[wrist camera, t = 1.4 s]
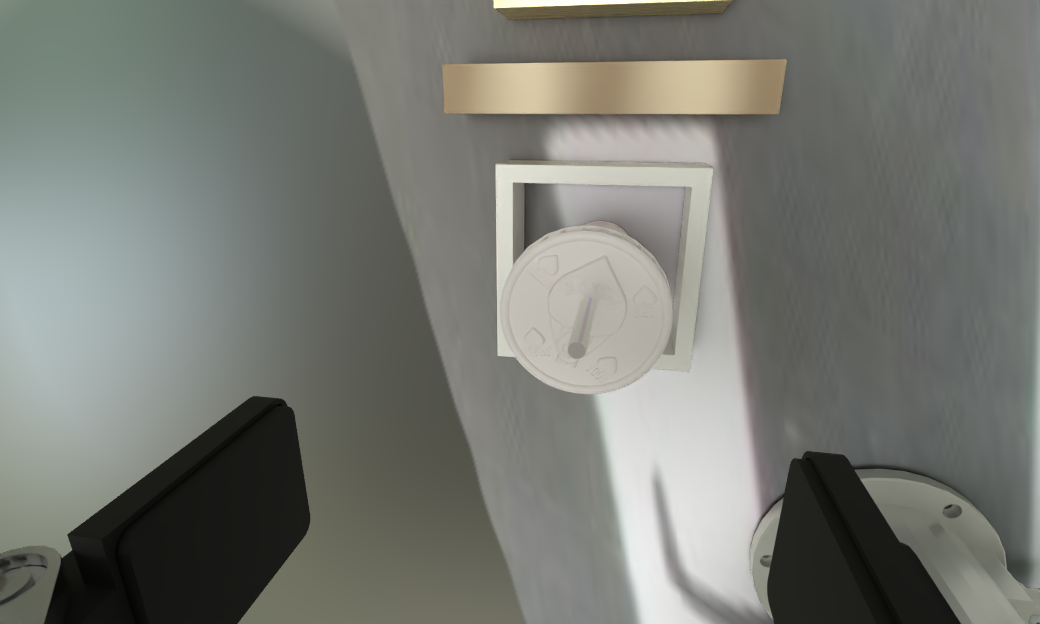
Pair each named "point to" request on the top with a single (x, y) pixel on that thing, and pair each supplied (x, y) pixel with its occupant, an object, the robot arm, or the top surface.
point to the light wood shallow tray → (605, 8)
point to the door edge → (616, 87)
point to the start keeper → (613, 173)
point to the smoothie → (587, 309)
